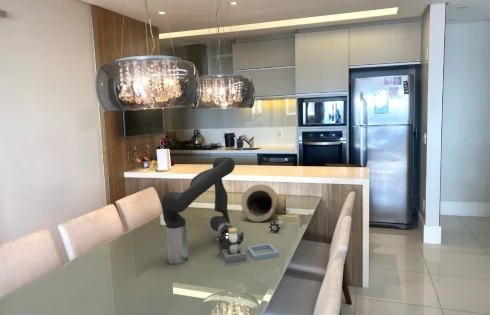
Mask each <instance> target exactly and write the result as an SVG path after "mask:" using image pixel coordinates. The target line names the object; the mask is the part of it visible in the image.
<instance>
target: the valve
mask: <svg viewBox="0 0 490 315" xmlns="http://www.w3.org/2000/svg"><path fill="white" fill-rule="evenodd" d="M276 219H277V221H273V223H272V222H270V224H269V226H268V228H269V229H270V232H273V234H276V233H279V232H280V230H281V229H282V230H283V229H284V228H285V217H284V216H281V215H279V216H277V218H276Z"/></svg>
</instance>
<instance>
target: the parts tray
mask: <svg viewBox="0 0 490 315" xmlns="http://www.w3.org/2000/svg"><path fill="white" fill-rule="evenodd" d="M261 250H269V251H270V252H265V253H264V252H263V253H259V254H256V253H255V251H261ZM246 251H247V252H248V254H249V255H250V257H251V258H252V259H253V260H254V261H258V260H265V259H271V258H276V257H279V256H280V254H279V253H280V252H279V251H278V250H277V249H276V248H275V247H274V246H273V245H272V244H271V243H265V244H264V243H263V244H257V245H251V246H247V247H246Z"/></svg>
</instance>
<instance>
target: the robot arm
mask: <svg viewBox="0 0 490 315" xmlns="http://www.w3.org/2000/svg"><path fill="white" fill-rule="evenodd" d="M212 162H213V163H212V167H211V168H208V169H206V170H203V171H201V172H199V173H198V174H196V175H195V176H194V177H192V179H191V180H190V184H189V187H188V188H187V189H185V190H184V191H180V192H178V191H177V192H175V191H167V192H165V193H164V194H163V196H162V199H161V209H162V210H161V211H162V217H163V221H164V223H165V228H166V229H165V230H166V244H167V256H168V257H167V259H168V263H169V264H173V265H174V264H175V265H179V264H183V263H185V262H188V260H189V253H188V252H189V251H188V250H189V249H188V238H187V237H188V236H187V222H186V219H185V217H183V216H182V215H181V214H180V213H182V212H184V211H185V210H186V209H188V208H189V206H191V205H192V203H193V202H195V200H197V199H198V198H199V197H200V196H202V194H204V193H205V192H206V191H208V190H209V189H211V188H212V187H213V186H214V211H215V212H217V213H218V212H219V213H221V214H222V216H221V215H220V216H219V215H214V216H212V217H211V219H210V223H209V224H210V227H211V229H212V230H213V231H215V232H218V235H216V242H217V243H219V244H221V245H226V246H228V247H230V246H231V242H230V240H229V233H228V229H229V228H234V227H233V226H232V225H231V222H230V216H229V211H228V202H229V200H228V199H229V198H228V192H227V190H226V188H225V185H224V184H223V178H224V177H226V176H228V175H230V174H231V173H233V172H234V169H235V167H236V163H235V160H234V159H233V158H232V157H227V156H226V157H225V156H224V157H216V158H215V159H214V160H213V161H212ZM244 238H245V237H244V232H243V231H242V232H241V233H238V232H237V241H238V246H241V244H242V242H243V241H244Z"/></svg>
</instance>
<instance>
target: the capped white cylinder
mask: <svg viewBox="0 0 490 315" xmlns="http://www.w3.org/2000/svg"><path fill="white" fill-rule="evenodd" d="M228 233H229V240H230V242H231V246H229V249H230V255H231V254H238V247H239V245H238V241H237V233H238V228H237V227H233V228H229V229H228Z"/></svg>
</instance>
